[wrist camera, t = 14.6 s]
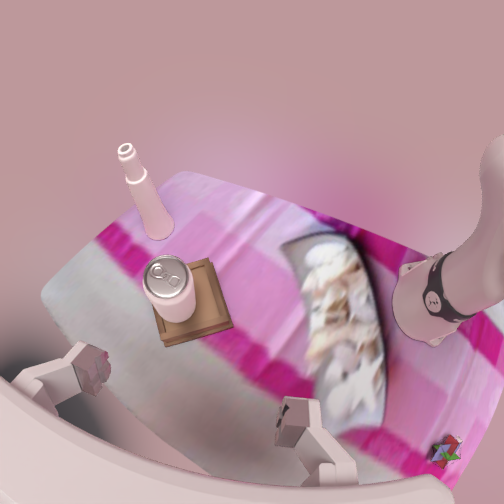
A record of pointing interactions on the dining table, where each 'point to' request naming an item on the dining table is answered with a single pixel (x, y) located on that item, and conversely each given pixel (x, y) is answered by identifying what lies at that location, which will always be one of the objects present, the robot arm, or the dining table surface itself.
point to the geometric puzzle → (446, 451)
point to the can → (170, 288)
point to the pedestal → (199, 309)
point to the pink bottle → (145, 195)
